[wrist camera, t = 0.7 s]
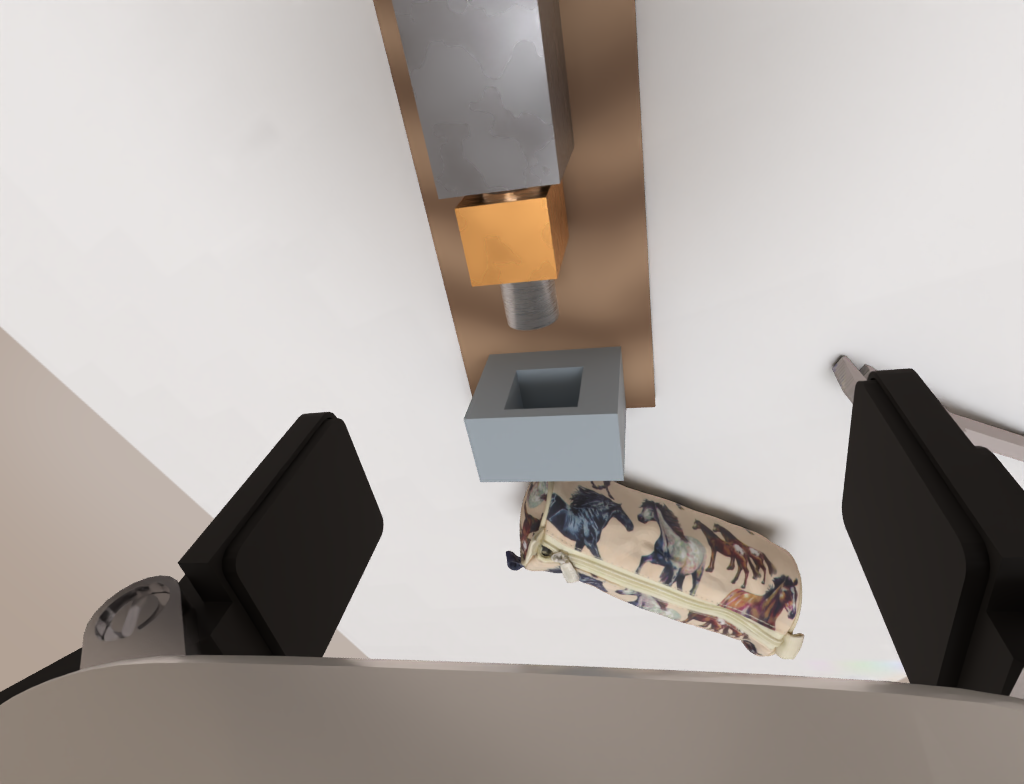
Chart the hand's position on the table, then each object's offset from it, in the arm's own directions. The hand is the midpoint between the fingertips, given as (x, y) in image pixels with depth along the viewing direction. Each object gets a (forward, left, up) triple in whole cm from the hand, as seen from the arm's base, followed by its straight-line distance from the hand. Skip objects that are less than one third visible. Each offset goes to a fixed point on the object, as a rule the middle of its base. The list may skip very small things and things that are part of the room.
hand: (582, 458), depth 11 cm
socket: (+15, -5, -26) cm, 31 cm away
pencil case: (+30, +1, -28) cm, 41 cm away
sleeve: (-6, -5, -26) cm, 27 cm away
